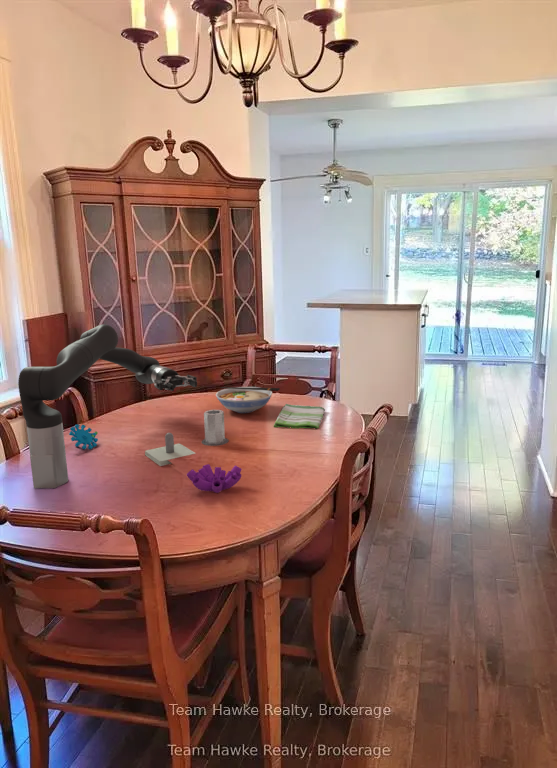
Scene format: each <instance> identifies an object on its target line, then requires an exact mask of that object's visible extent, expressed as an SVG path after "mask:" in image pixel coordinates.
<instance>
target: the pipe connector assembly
mask: <svg viewBox="0 0 557 768" xmlns="http://www.w3.org/2000/svg"><path fill="white" fill-rule="evenodd" d="M242 470H243V469H242V468H241V467H239V466H237V465H234V466H233V467H232V469H231V470H228V471H227V470H224V469H222V467H221V466H220V467H218V466H216V467H214V471H213V469H212V467H211V465H210V463H209V464H205V465H202V468H199V469H198V471H195V470H194V469H191V470H189V471H188V472H187V473H186V477H187V479H189V480H190V482H191V483H192V484H193V486H194V487H195V488H196V489H198V490H199V491H202V492H213V493H221V492H222V491H224V490H227V489H230V488H232V487H233V486H235V485H236V484H237V483H238V482H239V481H240V479H241V477H242V474H241V472H242ZM226 471H227V473H226Z"/></svg>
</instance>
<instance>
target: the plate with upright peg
mask: <svg viewBox="0 0 557 768" xmlns="http://www.w3.org/2000/svg"><path fill="white" fill-rule="evenodd" d="M174 437H175V436H174V434H173V433H172V432H167V433H166V434H165V435H164V441H165V446H161V447H157V448H151V449H146V450H145V451H144V455H145V456H146V457H147V458H149V459H150V460H151V461H153V462H154V463H155V464H157V465H158V466H159V467H162V466H167V465H171V464H173V462H171V460H174V459H177V458H181V457H185V456H191V455H195V454H197V453H196V452H195V451H193V450H191V449H190V448H188V447H186V446H185V445H183V444H182V443H175V439H174ZM169 460H170V461H169Z"/></svg>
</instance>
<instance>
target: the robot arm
mask: <svg viewBox="0 0 557 768" xmlns="http://www.w3.org/2000/svg"><path fill="white" fill-rule="evenodd" d="M118 343H119V336H118V333H117V331H116V330H115V328H114V327H113V326H111V325H109V324H106V323H105V324H103V323H102V324H99V325H97V326H95V327H93V328H91V329H89V330H86V331H85V332H82V333H81V335H80V338H79V339H77V340H76V341H74V342H72V343H70V344H68V345H67V346H66V347H64V348H63V349H62V350H60V352H58V354H57V357H56V365H55V366H26V367H24V368H22V369H21V371H20V372H19V375H18V383H17V385H18V392H19V397H20V403H21V409H22V415H23V417H24V421H25V424H26V433H27V441H28V449H29V459H30V466H31V467H30V469H31V476H32V484H33V485H32V486H33V489H56V488H58V487H59V486H63V485H64V484H67V483H68V481H69V472H68V464H67V463H68V462H67V455H66V454H67V453H66V445H65V436H64V435H65V434H64V426H63V415H62V413H61V412H60V411H59V410H57V409H54V408H52V407H50V406H49V405H47V404H46V403H45V402H44V401H47V402H49V401H55V400H58V399H60V398H61V397H62V396H63V395H64V394H65V392H66V391H67V390H68V389H69V387H70V386H71V385H72V384H73V383H74V382H75V381H76V380H78V379H79V378H80V377H81V375H83V374H85V373H86V372H87V371H88V370H89V369H90V368H91V367H92V366H93V365H94V364H95V363H96V362H97V361H99V360H103V361H105V362H109V363H113V364H116V365H119V366H121V367H123V368H124V369H126V370H128V371H130V372H131V373H135V378H136V380H137V381H138V382H139V383H142V384H145V385H152V384H153V385H154V388H156V389H157V390H159V391H162V390H166V391H170V392H173V391H175V389H176V388H177V387H178V388H179V387H187V386H190V387H193V388H197V387H198V381H197V379H198V377H197V376H194V375H191V374H187V375H179V373H178V371H176V370H174V369H172V368H169V367H167V366H162V365H160V362H159V361H158V359H156V358H154V357H153V356H152V357H151V356H145V355H141V354H139V353H138V352H136V351H134V350H133V349H130V348H125V347H119V346H117V345H118Z"/></svg>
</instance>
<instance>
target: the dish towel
mask: <svg viewBox="0 0 557 768" xmlns="http://www.w3.org/2000/svg"><path fill="white" fill-rule="evenodd" d="M324 411H325V412H326V409H325V408H324V407H322V406H313V405H312V406H311V405H299V404H298V405H296V404H291V403H290V404H289V403H285V405H284V406H283V407H281V410H280V412H279V414H278V416H277V418H276V420H275V422H274V424H273V428H278V427H288V428H287V429H299V428H315V429H317V428H318V429H319V428H320V426H319V425H321V424H322V423H321V420H322V418H323V414H324V415H325V413H324ZM323 419H324V418H323ZM322 421H323V420H322ZM320 423H321V424H320ZM290 427H291V428H290Z"/></svg>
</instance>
